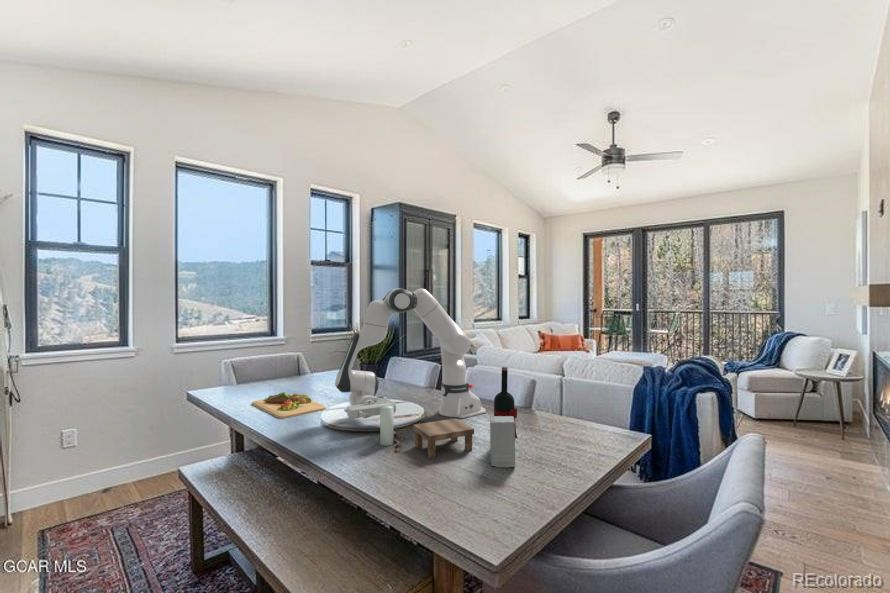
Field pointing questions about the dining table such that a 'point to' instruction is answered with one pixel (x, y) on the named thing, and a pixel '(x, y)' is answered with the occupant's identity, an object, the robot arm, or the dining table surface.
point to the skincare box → (502, 441)
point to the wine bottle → (505, 400)
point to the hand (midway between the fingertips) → (377, 414)
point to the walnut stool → (442, 433)
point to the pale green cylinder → (386, 424)
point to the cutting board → (288, 405)
